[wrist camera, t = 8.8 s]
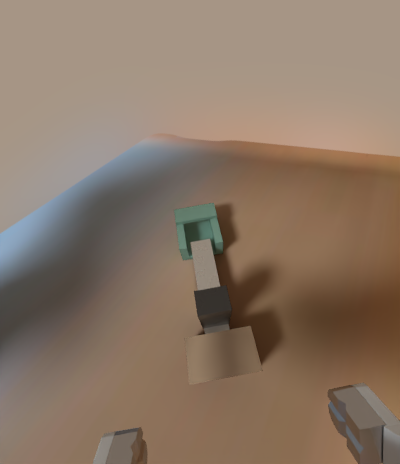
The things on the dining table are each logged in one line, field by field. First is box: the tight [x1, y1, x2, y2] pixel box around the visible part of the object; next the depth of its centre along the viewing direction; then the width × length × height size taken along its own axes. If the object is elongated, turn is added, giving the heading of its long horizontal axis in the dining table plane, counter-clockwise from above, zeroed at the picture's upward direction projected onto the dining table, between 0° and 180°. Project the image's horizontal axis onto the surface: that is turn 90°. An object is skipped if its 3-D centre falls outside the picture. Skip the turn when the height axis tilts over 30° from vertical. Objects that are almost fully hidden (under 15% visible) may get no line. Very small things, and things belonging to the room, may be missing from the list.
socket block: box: [184, 326, 263, 385], centre depth 23 cm, size 7×4×4 cm, turn 99°
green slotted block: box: [174, 203, 223, 260], centre depth 32 cm, size 6×7×4 cm
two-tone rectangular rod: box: [190, 239, 232, 334], centre depth 24 cm, size 3×15×9 cm, turn 9°
